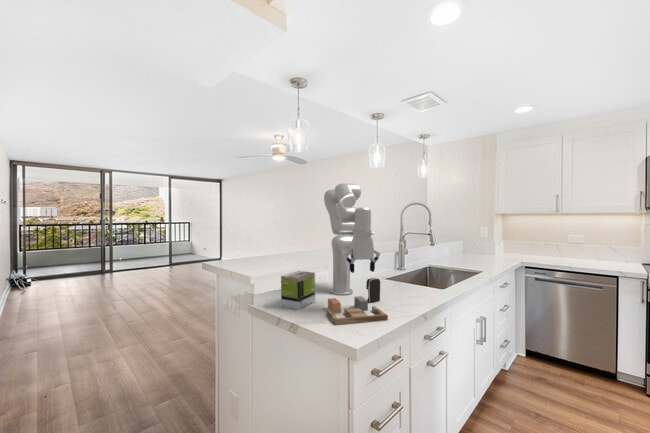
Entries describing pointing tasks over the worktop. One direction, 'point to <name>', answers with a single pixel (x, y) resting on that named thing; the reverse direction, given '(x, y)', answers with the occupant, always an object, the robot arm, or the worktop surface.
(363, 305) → the grey stub
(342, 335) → the worktop surface
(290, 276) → the tea box
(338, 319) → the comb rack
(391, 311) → the worktop surface
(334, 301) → the terracotta stub
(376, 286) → the battery charger
